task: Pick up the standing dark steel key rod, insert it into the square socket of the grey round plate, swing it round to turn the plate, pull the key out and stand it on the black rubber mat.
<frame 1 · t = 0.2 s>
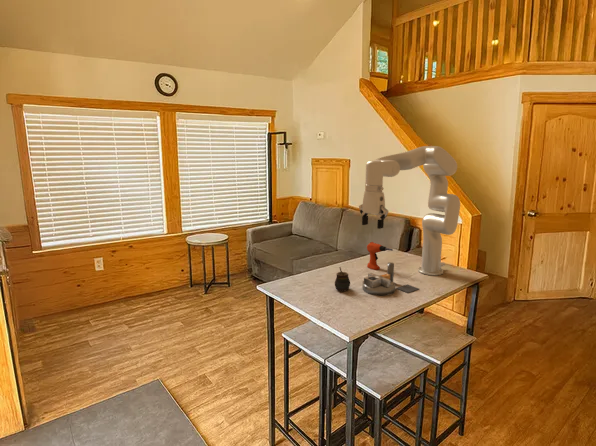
hand: (372, 226, 170), 30 cm above the table, tool pointing down, fingers open, 9 cm apart
key: (390, 282, 185), on the table
mate gourd: (341, 289, 177), on the table
toy drill: (379, 270, 204), on the table
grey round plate: (378, 279, 175), point 5 cm above the table, hinge at 0.0°
mat: (407, 289, 176), on the table
chuck base: (378, 289, 176), on the table
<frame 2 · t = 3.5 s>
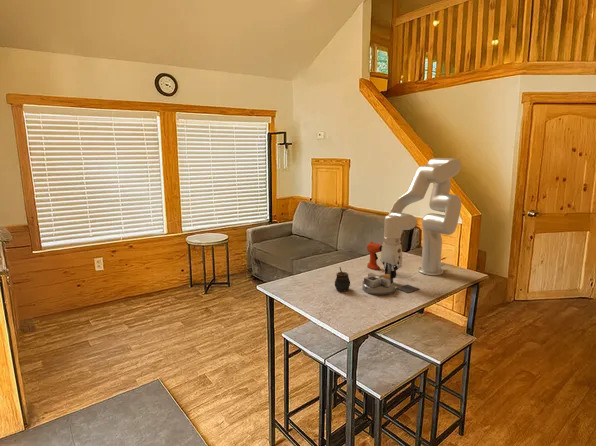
hand: (390, 276, 184), 3 cm above the table, tool pointing down, fingers closed on key, 3 cm apart
key: (390, 282, 185), on the table, touching gripper
everything else where it was.
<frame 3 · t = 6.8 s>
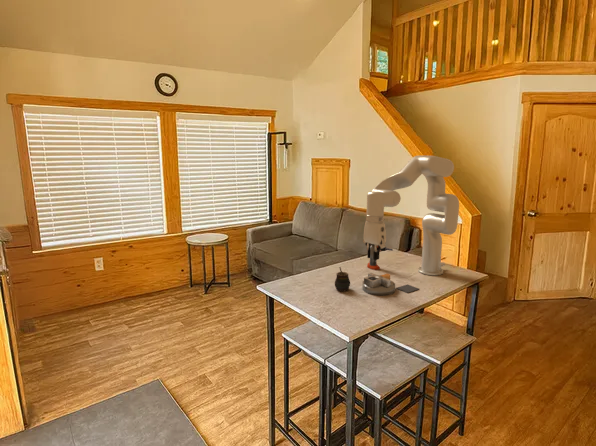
hand: (373, 258, 171), 16 cm above the table, tool pointing down, fingers closed on key, 3 cm apart
key: (372, 264, 171), point 13 cm above the table, touching gripper
everything else where it was.
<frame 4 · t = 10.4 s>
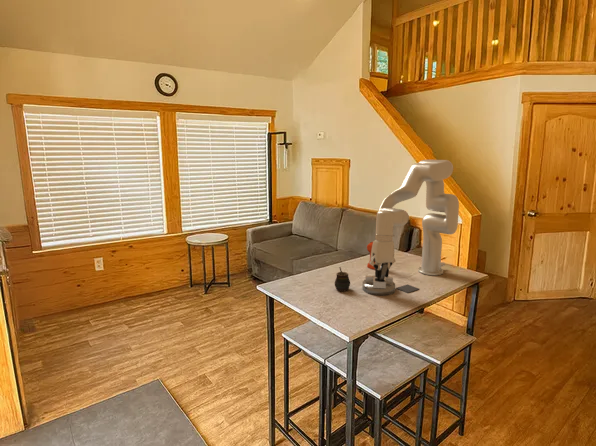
hand: (381, 276, 171), 8 cm above the table, tool pointing down, fingers closed on key, 3 cm apart
key: (379, 284, 171), point 4 cm above the table, tilted 12°, touching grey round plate, gripper
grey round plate: (378, 279, 175), point 5 cm above the table, hinge at 46.4°, touching key
everything else where it was.
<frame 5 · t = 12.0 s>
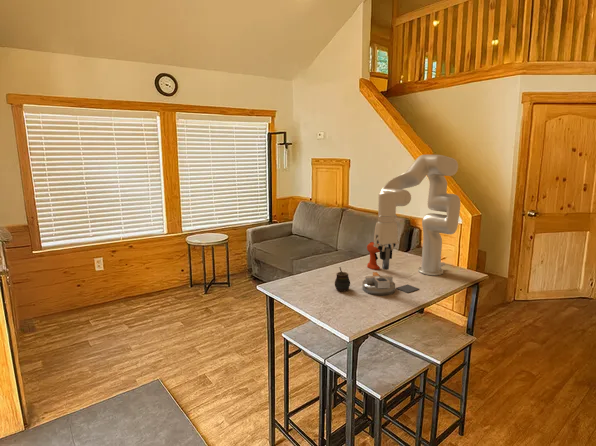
hand: (385, 258, 170), 16 cm above the table, tool pointing down, fingers closed on key, 3 cm apart
key: (385, 268, 171), point 11 cm above the table, tilted 5°, touching gripper
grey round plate: (379, 279, 175), point 5 cm above the table, hinge at 62.3°
everything else where it was.
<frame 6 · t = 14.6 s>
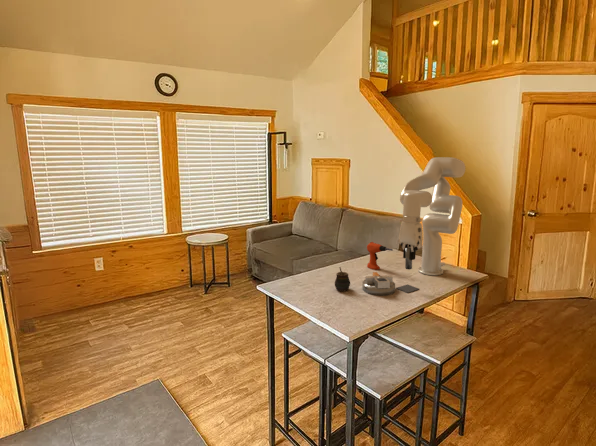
hand: (409, 258, 173), 15 cm above the table, tool pointing down, fingers closed on key, 3 cm apart
key: (408, 268, 174), point 10 cm above the table, touching gripper
everything else where it was.
when the fingers open (5 cm above the table, at t = 16.6 s): key stays where it is, resting on mat.
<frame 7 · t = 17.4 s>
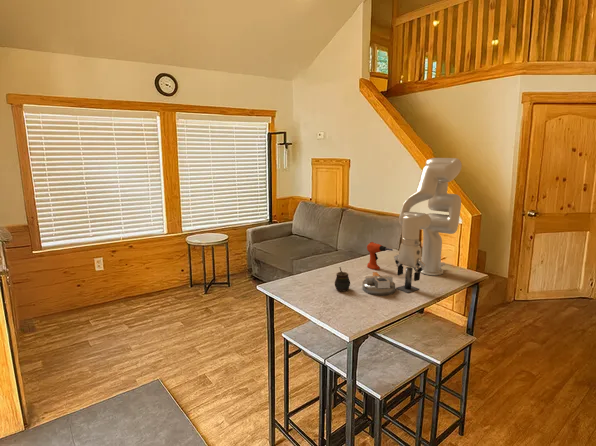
hand: (408, 277, 175), 6 cm above the table, tool pointing down, fingers open, 9 cm apart
key: (407, 288, 176), resting on mat
everything else where it was.
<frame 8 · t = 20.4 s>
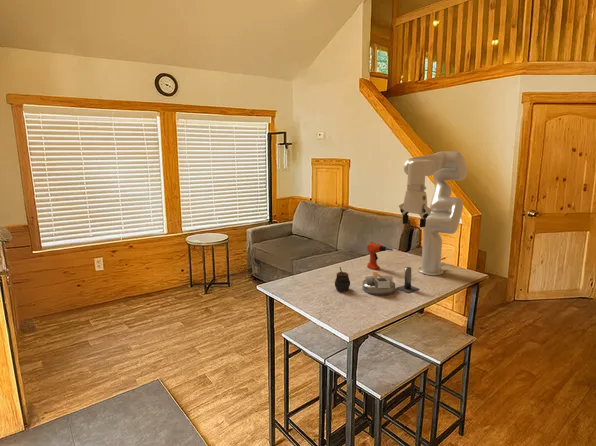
hand: (413, 225, 172), 30 cm above the table, tool pointing down, fingers open, 9 cm apart
nothing on the table moved.
at the end: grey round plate at +62° (first picture: +0°); key inside the target area on the mat (0.0 cm from its centre), point 0.5 cm above the mat's base; the gripper is holding nothing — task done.
